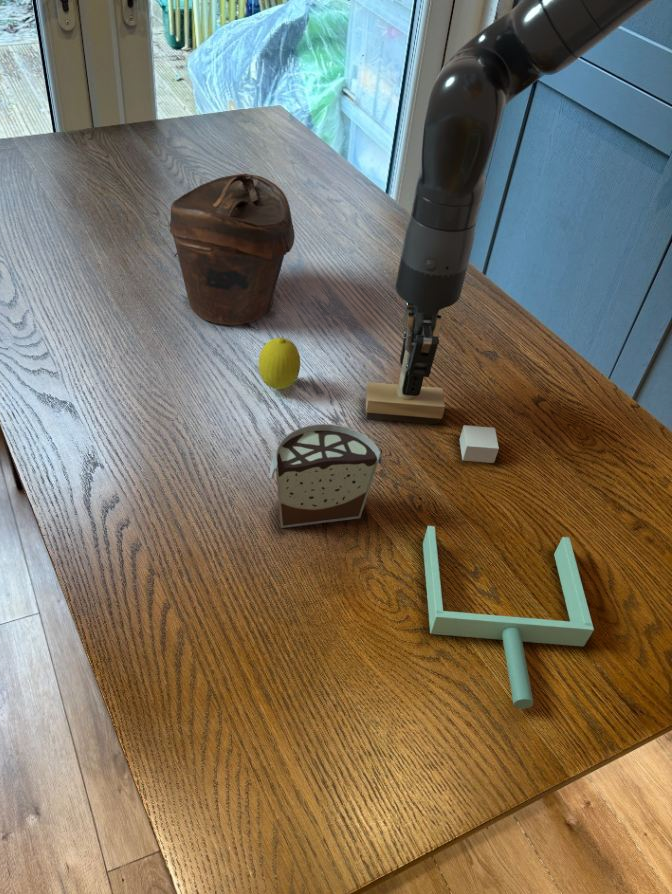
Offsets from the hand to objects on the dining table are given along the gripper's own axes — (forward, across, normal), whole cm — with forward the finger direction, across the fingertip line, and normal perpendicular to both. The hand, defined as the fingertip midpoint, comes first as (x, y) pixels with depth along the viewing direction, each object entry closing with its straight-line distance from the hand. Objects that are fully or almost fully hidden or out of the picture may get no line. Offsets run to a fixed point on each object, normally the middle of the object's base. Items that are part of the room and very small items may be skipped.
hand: (409, 378), depth 96 cm
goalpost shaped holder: (+6, -33, -9) cm, 35 cm away
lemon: (+6, +3, +17) cm, 18 cm away
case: (+6, +24, +26) cm, 35 cm away
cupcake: (+6, -18, +11) cm, 22 cm away
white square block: (+6, -6, -9) cm, 13 cm away
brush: (+6, 0, 0) cm, 6 cm away
